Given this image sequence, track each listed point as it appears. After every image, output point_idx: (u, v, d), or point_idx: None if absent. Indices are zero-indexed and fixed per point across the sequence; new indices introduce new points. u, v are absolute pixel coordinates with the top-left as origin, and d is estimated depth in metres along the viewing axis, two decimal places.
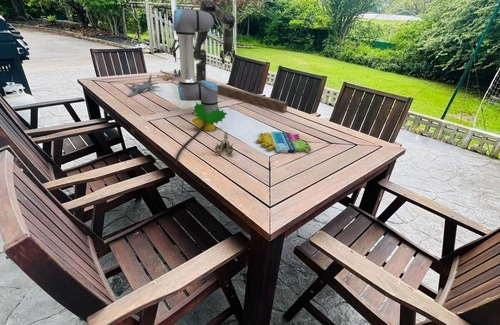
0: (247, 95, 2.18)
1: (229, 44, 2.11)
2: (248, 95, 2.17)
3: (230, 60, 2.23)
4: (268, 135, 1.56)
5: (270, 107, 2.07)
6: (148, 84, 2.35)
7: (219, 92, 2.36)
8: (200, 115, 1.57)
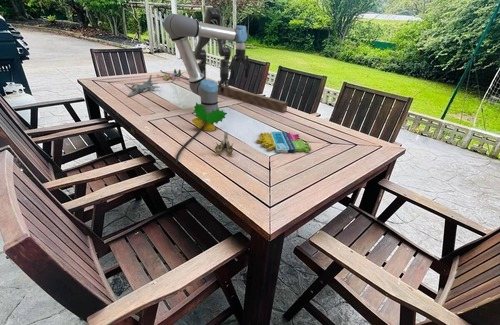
0: (247, 95, 2.18)
1: (226, 74, 2.25)
2: (248, 95, 2.17)
3: None
4: (268, 135, 1.56)
5: (270, 107, 2.07)
6: (148, 84, 2.35)
7: (219, 92, 2.36)
8: (200, 115, 1.57)
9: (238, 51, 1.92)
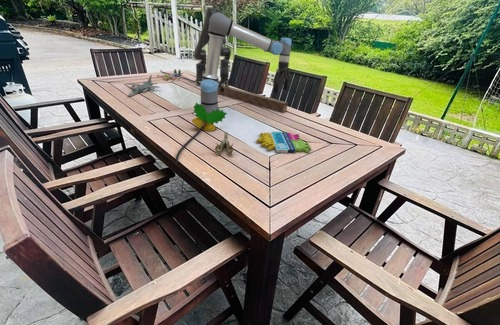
0: (247, 95, 2.18)
1: (226, 74, 2.25)
2: (248, 95, 2.17)
3: None
4: (268, 135, 1.56)
5: (270, 107, 2.07)
6: (148, 84, 2.35)
7: (219, 92, 2.36)
8: (200, 115, 1.57)
9: (283, 64, 1.86)
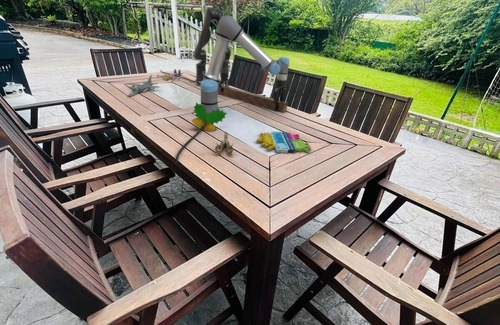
0: (247, 95, 2.18)
1: (226, 74, 2.25)
2: (248, 95, 2.17)
3: None
4: (268, 135, 1.56)
5: (270, 107, 2.07)
6: (148, 84, 2.35)
7: (219, 92, 2.36)
8: (200, 115, 1.57)
9: (281, 82, 1.92)
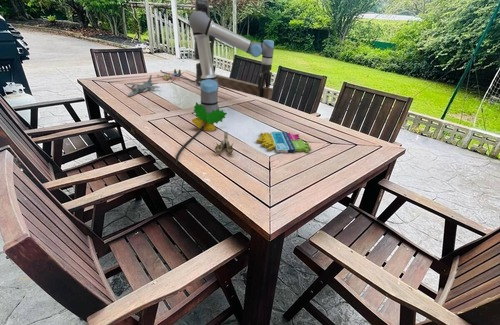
0: (231, 82, 2.09)
1: None
2: (233, 81, 2.08)
3: None
4: (268, 135, 1.56)
5: (255, 93, 1.98)
6: (148, 84, 2.35)
7: None
8: (200, 115, 1.57)
9: (265, 66, 1.83)
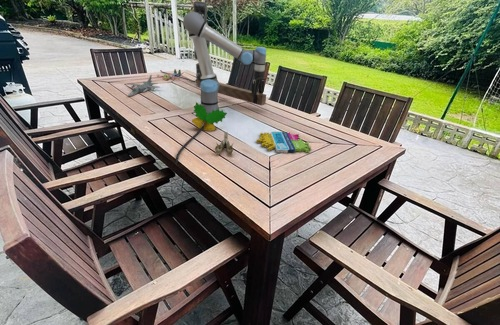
0: (226, 88, 2.10)
1: None
2: (227, 88, 2.09)
3: None
4: (268, 135, 1.56)
5: (249, 100, 1.99)
6: (148, 84, 2.35)
7: (199, 85, 2.28)
8: (200, 115, 1.57)
9: (258, 73, 1.84)
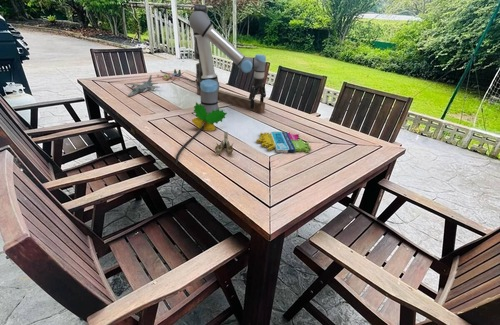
0: (225, 96, 2.13)
1: None
2: (226, 95, 2.12)
3: None
4: (268, 135, 1.56)
5: (248, 107, 2.02)
6: (148, 84, 2.35)
7: (199, 92, 2.31)
8: (200, 115, 1.57)
9: (258, 80, 1.87)
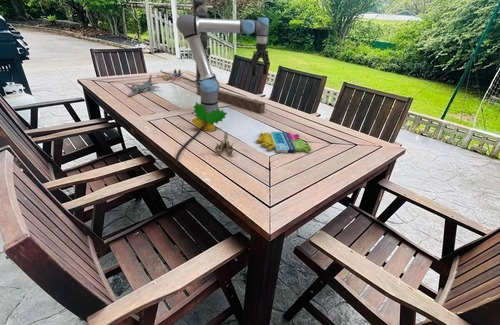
0: (225, 96, 2.13)
1: (204, 42, 2.08)
2: (226, 95, 2.12)
3: None
4: (268, 135, 1.56)
5: (248, 107, 2.02)
6: (148, 84, 2.35)
7: (199, 92, 2.31)
8: (200, 115, 1.57)
9: (260, 45, 1.75)
